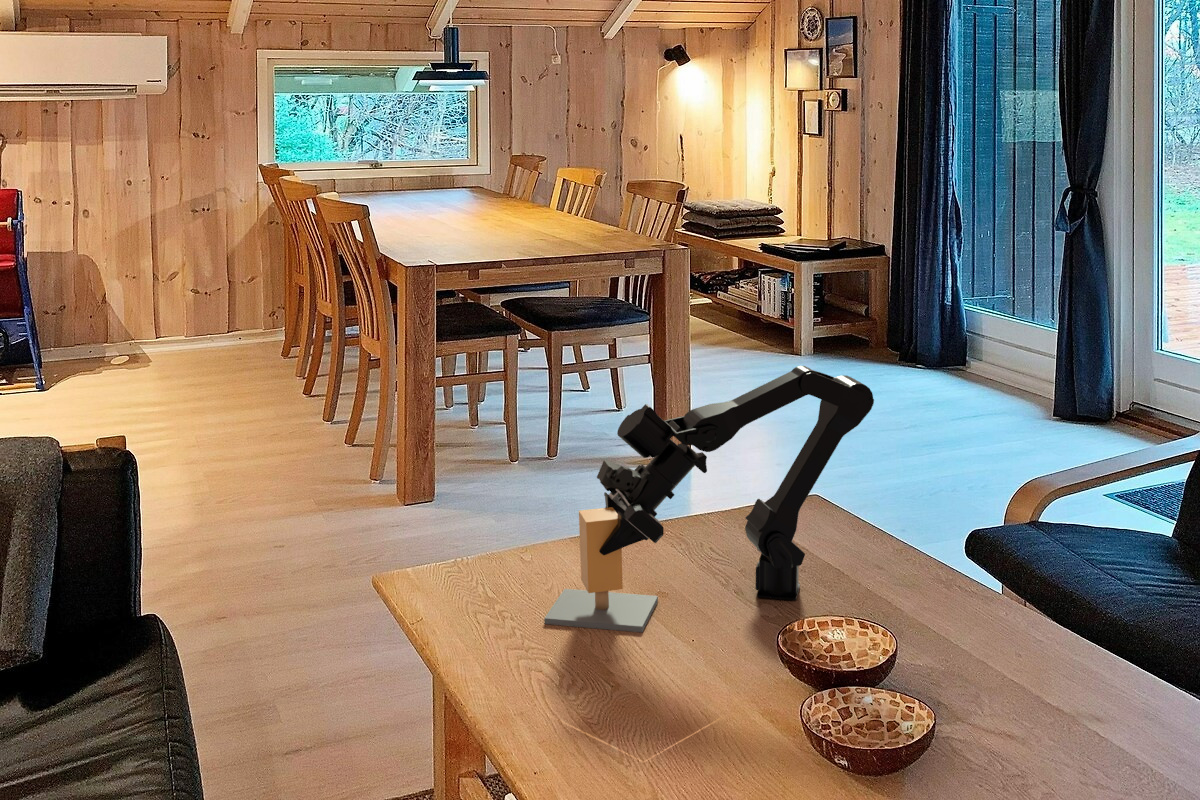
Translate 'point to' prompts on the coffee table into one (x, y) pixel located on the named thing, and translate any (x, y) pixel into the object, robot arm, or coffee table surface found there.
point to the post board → (602, 610)
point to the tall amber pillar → (595, 566)
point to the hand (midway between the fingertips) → (597, 546)
